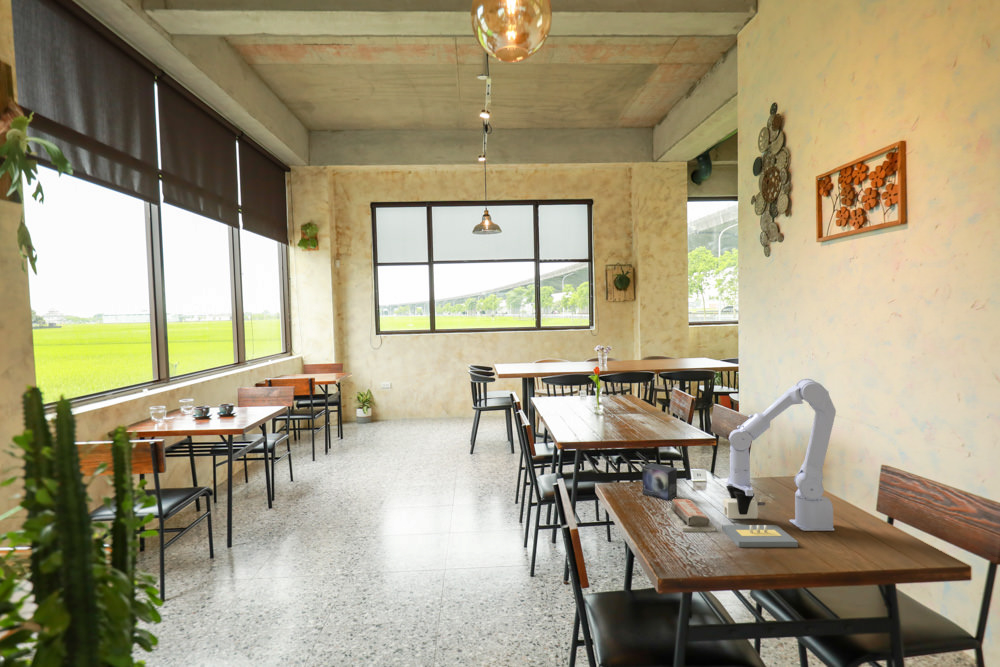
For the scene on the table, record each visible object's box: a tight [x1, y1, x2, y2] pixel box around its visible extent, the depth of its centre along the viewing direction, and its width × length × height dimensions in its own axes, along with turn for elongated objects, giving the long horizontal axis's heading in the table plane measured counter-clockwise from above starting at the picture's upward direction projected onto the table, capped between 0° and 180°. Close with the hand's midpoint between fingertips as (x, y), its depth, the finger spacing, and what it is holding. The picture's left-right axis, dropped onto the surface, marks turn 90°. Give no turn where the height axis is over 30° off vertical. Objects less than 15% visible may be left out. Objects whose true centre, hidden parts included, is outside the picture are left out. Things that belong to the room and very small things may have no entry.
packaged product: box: [665, 498, 717, 533], centre depth 167 cm, size 18×5×10 cm
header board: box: [721, 524, 799, 548], centre depth 152 cm, size 16×12×4 cm
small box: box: [642, 462, 678, 502], centre depth 191 cm, size 11×6×10 cm, turn 43°
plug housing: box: [722, 497, 766, 520], centre depth 167 cm, size 12×4×5 cm, turn 88°
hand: (740, 511), depth 167 cm, fingers closed on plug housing, 4 cm apart
